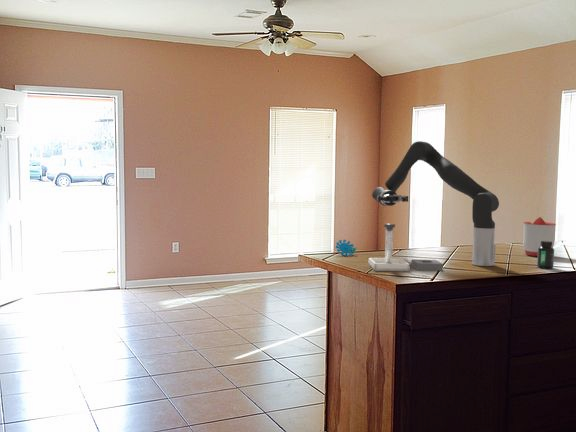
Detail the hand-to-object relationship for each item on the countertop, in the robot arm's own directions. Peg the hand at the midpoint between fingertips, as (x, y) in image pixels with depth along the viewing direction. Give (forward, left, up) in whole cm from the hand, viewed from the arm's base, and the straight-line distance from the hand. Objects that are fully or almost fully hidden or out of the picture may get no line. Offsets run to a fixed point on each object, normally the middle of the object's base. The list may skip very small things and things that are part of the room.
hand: (395, 199), depth 286 cm
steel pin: (+6, +18, -28) cm, 34 cm away
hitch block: (-11, +18, -29) cm, 36 cm away
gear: (+20, -18, -30) cm, 40 cm away
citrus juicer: (-81, -29, -29) cm, 91 cm away
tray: (+6, +18, -29) cm, 35 cm away
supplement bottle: (-67, +11, -29) cm, 74 cm away
